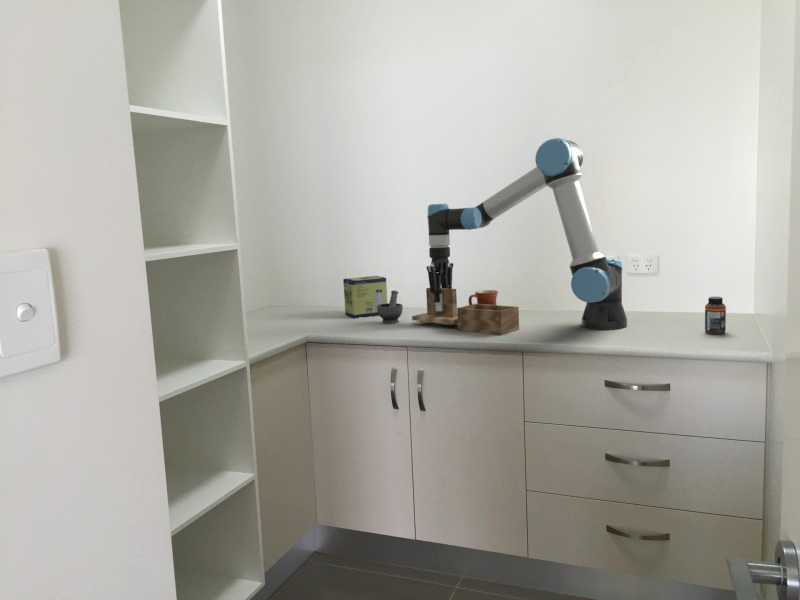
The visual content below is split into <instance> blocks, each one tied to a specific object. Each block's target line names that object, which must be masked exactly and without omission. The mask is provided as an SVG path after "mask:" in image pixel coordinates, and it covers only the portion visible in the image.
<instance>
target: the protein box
mask: <svg viewBox="0 0 800 600" xmlns="http://www.w3.org/2000/svg"><path fill="white" fill-rule="evenodd" d="M342 281H343V294H344V295H343V296H344V313H345V316H346V315H347V317H349V316H350V318H352V319H360V318H359V317H363V318H370V317H369V316H371V317H378V315H379V314H378V311H377V305H380V304H387V303H388V291H387V289H388V288H387V278H386V277H384V276H379V275H371V276H361V277H353V278H351V277H350V278H349V277H347V278H343V280H342Z"/></svg>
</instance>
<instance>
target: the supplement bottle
mask: <svg viewBox="0 0 800 600" xmlns="http://www.w3.org/2000/svg"><path fill="white" fill-rule="evenodd" d="M707 301H708V303H706V305H704V306H705V307H704V332H705V333H706V334H710V335H722V334H725V333H726V329H727V328H726V327H727V326H726V325H727V322H726V321H727V319H726V317H727V314H726V313H727V308H726V307H727V306H726V304H724V301H723V297H721V296H709V297H708V300H707Z"/></svg>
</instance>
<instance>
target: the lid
mask: <svg viewBox="0 0 800 600" xmlns="http://www.w3.org/2000/svg"><path fill="white" fill-rule="evenodd" d="M425 291H426V292H425V293H426V294H425V295H426V312H425V313H421V314H416V315H412V316H411V320H412V321H416V322H419V323H427V324H436V325H437V324H439V325H446V326H447V325H449V326H454V325H458V314H457V308H458V302H457V300H458V299H457V289H456V288H452V289H447V288H442V287H441V294H442V303H443V311H436V304H435V294H434V293H432V292H430V287H427V288H426V289H425Z"/></svg>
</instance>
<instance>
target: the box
mask: <svg viewBox="0 0 800 600" xmlns="http://www.w3.org/2000/svg"><path fill="white" fill-rule="evenodd" d="M519 307H520V306H514V305H513V306H511V305H498V304H497V305H487V304H477V303H472V305H469V304H468V305H464V306H461V307H457V314H458V324H457V331H459V332H470V333H477V334H487V335H497V336H503V335H506V334H509V333H513V332H516V331H519V330H520V315H519V314H520V312H519V311H520V310H519V309H520V308H519Z"/></svg>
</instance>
